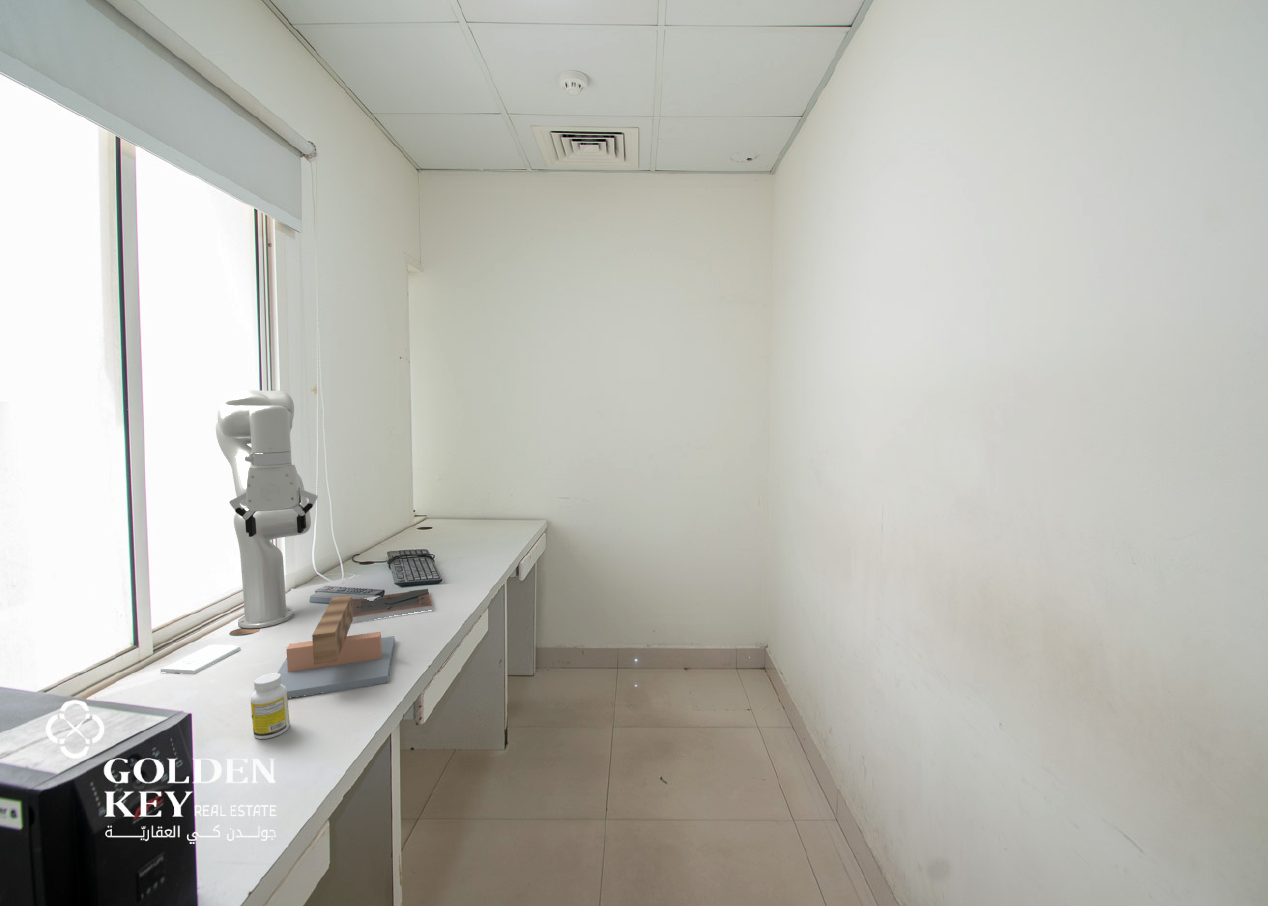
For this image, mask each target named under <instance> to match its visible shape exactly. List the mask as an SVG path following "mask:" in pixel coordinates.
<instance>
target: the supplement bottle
mask: <svg viewBox="0 0 1268 906" xmlns="http://www.w3.org/2000/svg"><path fill="white" fill-rule="evenodd" d="M253 685H254V686H253V687H254V691H253V693H252V694H251V696H250V709H251V710H250V711H251V719H252V732H253V736H254V738H256V739H258V740H267V739H271V738H275V737H278V736H280V735H282V734H283V733H285V732H286V731H287V730H288V729H289V727H290V711H289V699H288V697H287V689H286V687H285V686H284V685H282V684H281V674H279V673H278V672H271V673H270V672H269V673H266V674H263V675H260V676H258V677H257V678H255V679H254V681H253Z"/></svg>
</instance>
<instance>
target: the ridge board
mask: <svg viewBox="0 0 1268 906" xmlns="http://www.w3.org/2000/svg"><path fill="white" fill-rule="evenodd" d="M395 639H396V638H395V636H385V637H382V631H375V632H369V633H361V634H360V633H359V634H353V635H347V636H346V639H345V641H344V644H343V646H342V649H341V651H340V654H339V657H338V659H337V661H336V662H329V663H322V664H315V665H314V657H313V641H312V640H309V641H307V640H306V641H302V642H301V641H299V642H294V643H292V642H291V643H289V645H287V648H286V658H285V660H284V661H283V663H282V664H281V667H280V668H279V670H278V671H277V673H279V674H281V684H282V685H284V686H285V687H286V689H287V697H288V698H290V697H296V698H298V697H297V696H302V697H305V696H304V695H308V696H313V695H312V694H315V695H319V694H318V693H321V694H323V693H322V692H327V693H333V692H337V691H344V690H345V691H346V690H352V689H357V688H363V687H368V686H375V685H382V684H388V683H389V678H390V671H391V667H390V666H391V665H392V659H393V654H394V649H395V643H396V641H395ZM394 642H395V643H394ZM393 648H394V649H393ZM290 699H291V698H290Z"/></svg>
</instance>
